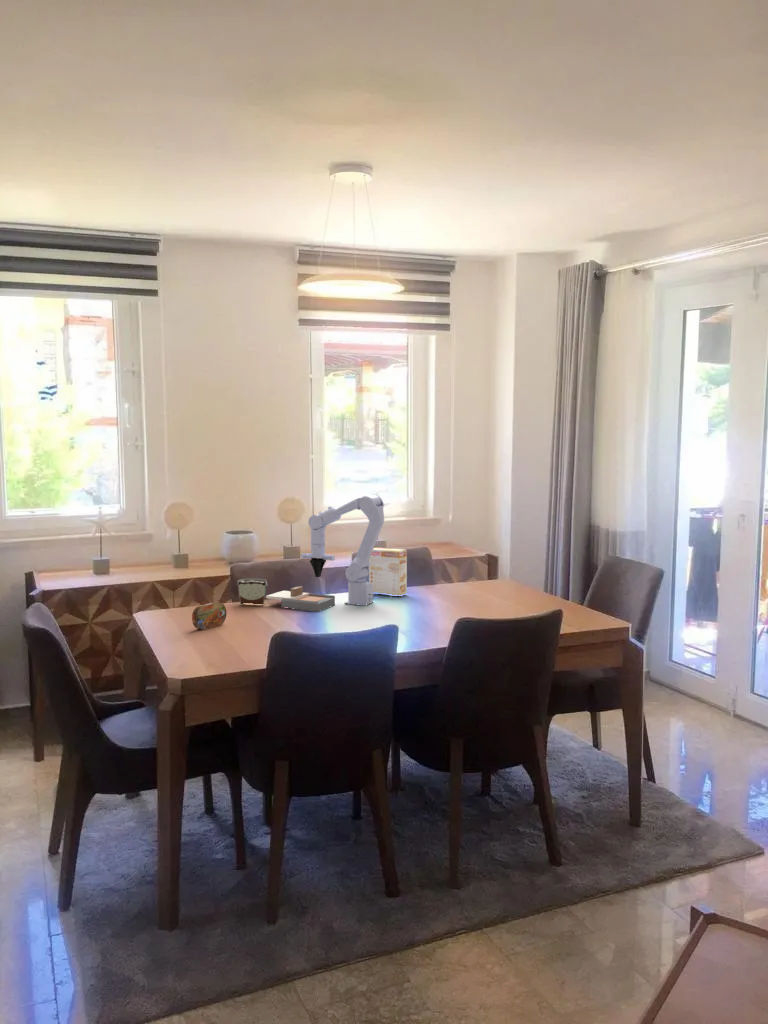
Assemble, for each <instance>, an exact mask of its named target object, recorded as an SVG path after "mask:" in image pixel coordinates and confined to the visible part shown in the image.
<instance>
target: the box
mask: <svg viewBox="0 0 768 1024" xmlns="http://www.w3.org/2000/svg"><path fill="white" fill-rule="evenodd" d="M308 593H309V596H306V597H303V598H300V599H286V598H281V600H280V601H281V608H282V607H288V608H294V609H293V610H295V609H302V610H301V611H305V610H309V611H308V612H315V611H318V612H321V611H323V609H324V610H325V608H326V609H329V608H331V607H330V606H332V607H333V605H334V606H335V605H336V602H335V599H336V598H335V597H336V596H335V595H332V594H331V595H330V594H320V593H310V592H308ZM328 607H329V608H328ZM320 610H321V611H320Z"/></svg>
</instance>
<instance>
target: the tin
mask: <svg viewBox="0 0 768 1024" xmlns="http://www.w3.org/2000/svg"><path fill="white" fill-rule="evenodd" d="M226 618H227V608H226V606H225V604H224V603H222V602H220V601H216V602H215V601H214V602H209V603H205V604H202V605H198V606H196V607H195V608H194V609H193V611H192V615H191V619H192V620H191V621H192V622H191V623H192V624H193V627H194V628H195V629H197V630H203V631H206V630H209V629H212V628H216V626H217V627H220V626H222V625H223V624H224V622H225V621H226ZM219 625H220V626H219ZM205 629H206V630H205Z"/></svg>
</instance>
